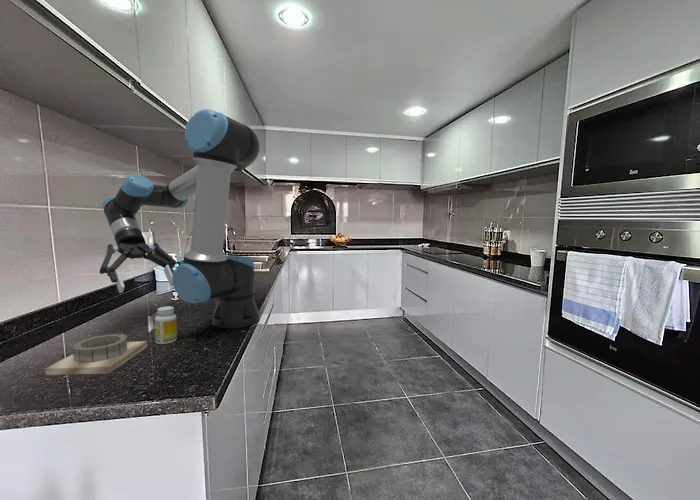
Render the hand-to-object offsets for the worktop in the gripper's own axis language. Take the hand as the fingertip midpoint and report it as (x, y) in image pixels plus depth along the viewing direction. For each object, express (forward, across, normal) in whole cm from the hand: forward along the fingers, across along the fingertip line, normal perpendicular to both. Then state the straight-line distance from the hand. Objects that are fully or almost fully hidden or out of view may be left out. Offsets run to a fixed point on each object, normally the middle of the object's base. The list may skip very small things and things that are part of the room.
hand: (149, 286), depth 91 cm
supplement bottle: (+18, 0, -3) cm, 18 cm away
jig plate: (+18, +15, -2) cm, 23 cm away
